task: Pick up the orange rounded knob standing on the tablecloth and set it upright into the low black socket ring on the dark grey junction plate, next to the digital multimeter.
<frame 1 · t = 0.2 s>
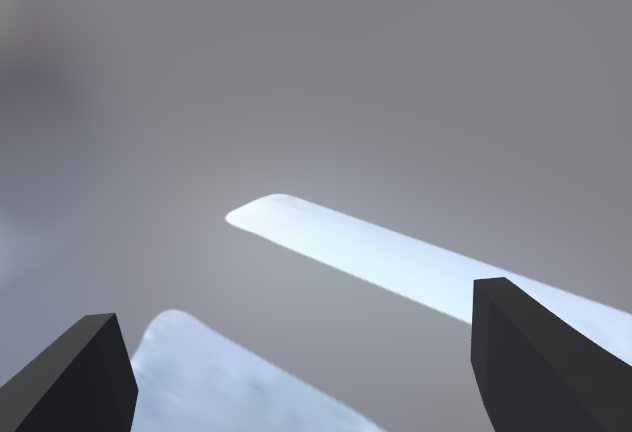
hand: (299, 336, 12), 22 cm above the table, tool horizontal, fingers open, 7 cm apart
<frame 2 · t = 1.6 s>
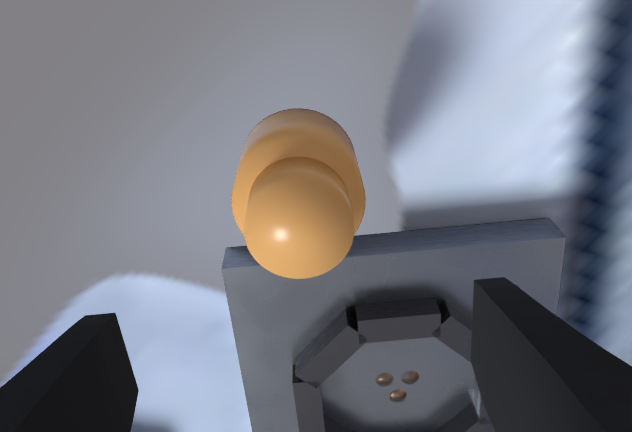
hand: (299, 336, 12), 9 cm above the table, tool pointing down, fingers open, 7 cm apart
orange rounded knob: (298, 164, 20), on the table
junction plate: (391, 359, 24), on the table
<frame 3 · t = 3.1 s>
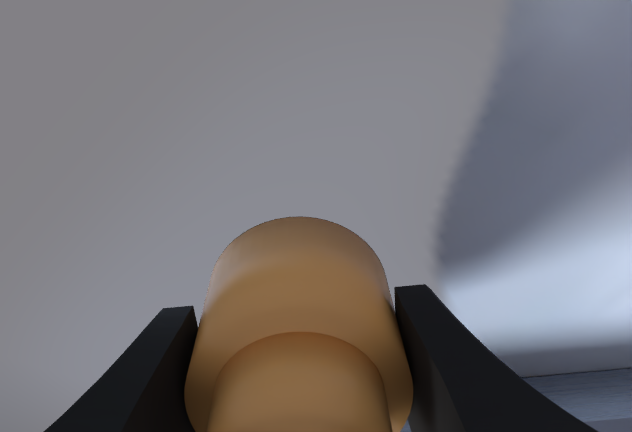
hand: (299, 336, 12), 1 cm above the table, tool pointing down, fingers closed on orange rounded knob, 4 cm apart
orange rounded knob: (298, 296, 13), on the table, touching gripper
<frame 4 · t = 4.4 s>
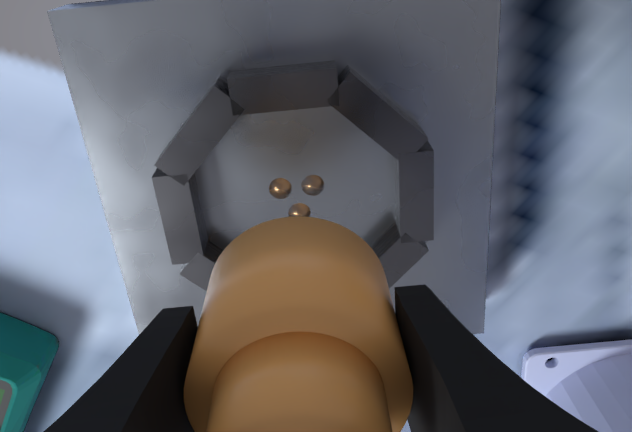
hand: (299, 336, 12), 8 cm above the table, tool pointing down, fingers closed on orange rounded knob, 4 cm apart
orange rounded knob: (298, 296, 13), point 7 cm above the table, touching gripper
junction plate: (297, 176, 19), on the table
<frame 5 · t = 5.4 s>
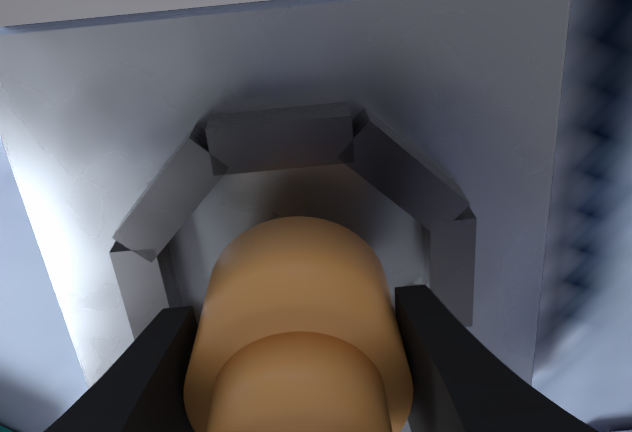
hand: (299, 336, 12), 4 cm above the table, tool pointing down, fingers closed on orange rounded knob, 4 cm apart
orange rounded knob: (298, 295, 13), point 3 cm above the table, touching gripper
junction plate: (298, 238, 15), on the table
when the fingers open (4 cm above the table, at t = 5.8 s): orange rounded knob drops 1 cm, resting on junction plate.
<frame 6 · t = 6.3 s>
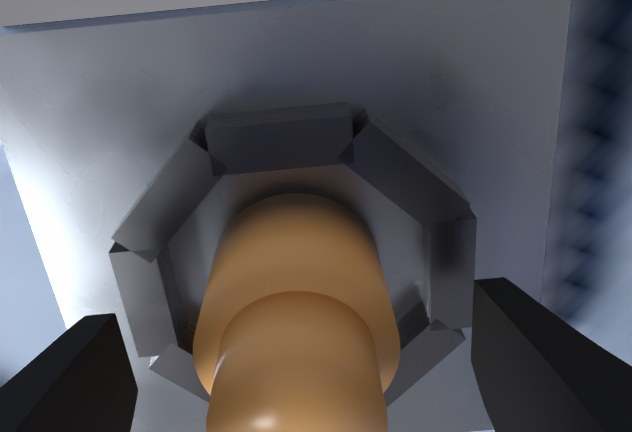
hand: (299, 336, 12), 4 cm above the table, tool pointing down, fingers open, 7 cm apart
orange rounded knob: (296, 268, 14), point 1 cm above the table, touching junction plate
junction plate: (298, 238, 15), on the table
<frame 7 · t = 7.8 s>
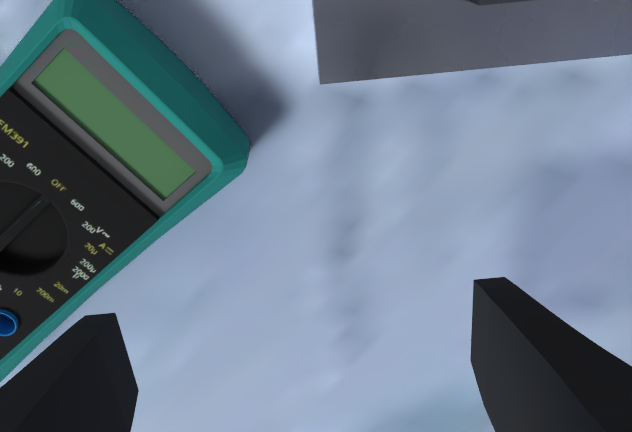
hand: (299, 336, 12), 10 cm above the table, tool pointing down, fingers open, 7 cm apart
digital multimeter: (52, 189, 21), on the table
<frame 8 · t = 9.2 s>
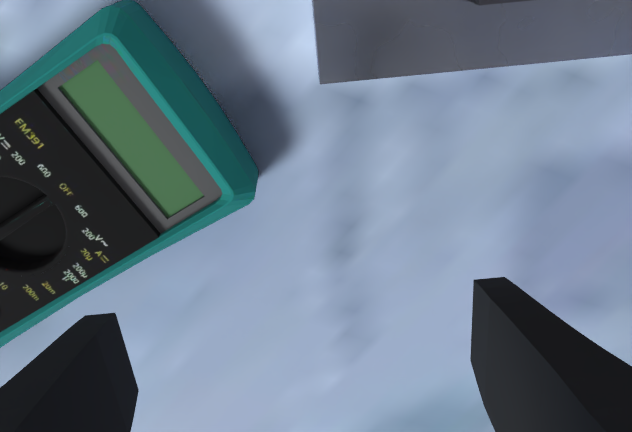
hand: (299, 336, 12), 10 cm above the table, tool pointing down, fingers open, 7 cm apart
digital multimeter: (51, 187, 21), on the table
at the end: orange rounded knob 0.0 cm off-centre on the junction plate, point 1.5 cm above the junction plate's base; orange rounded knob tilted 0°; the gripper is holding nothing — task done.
